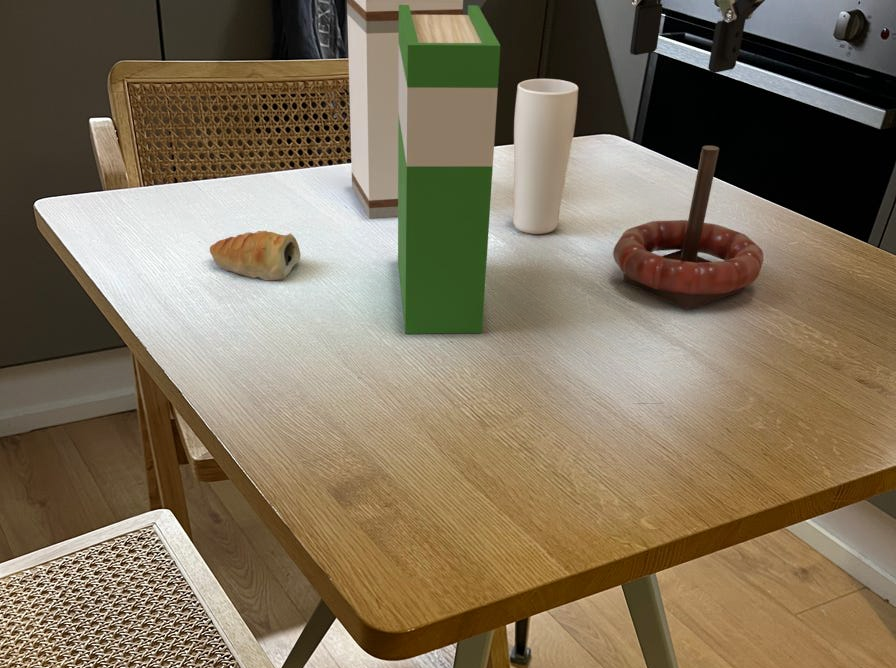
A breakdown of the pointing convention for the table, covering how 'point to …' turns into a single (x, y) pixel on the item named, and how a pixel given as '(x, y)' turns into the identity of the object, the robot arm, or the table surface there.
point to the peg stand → (692, 235)
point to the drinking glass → (542, 151)
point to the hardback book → (445, 167)
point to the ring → (684, 275)
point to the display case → (379, 96)
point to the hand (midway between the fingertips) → (680, 61)
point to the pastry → (257, 254)
